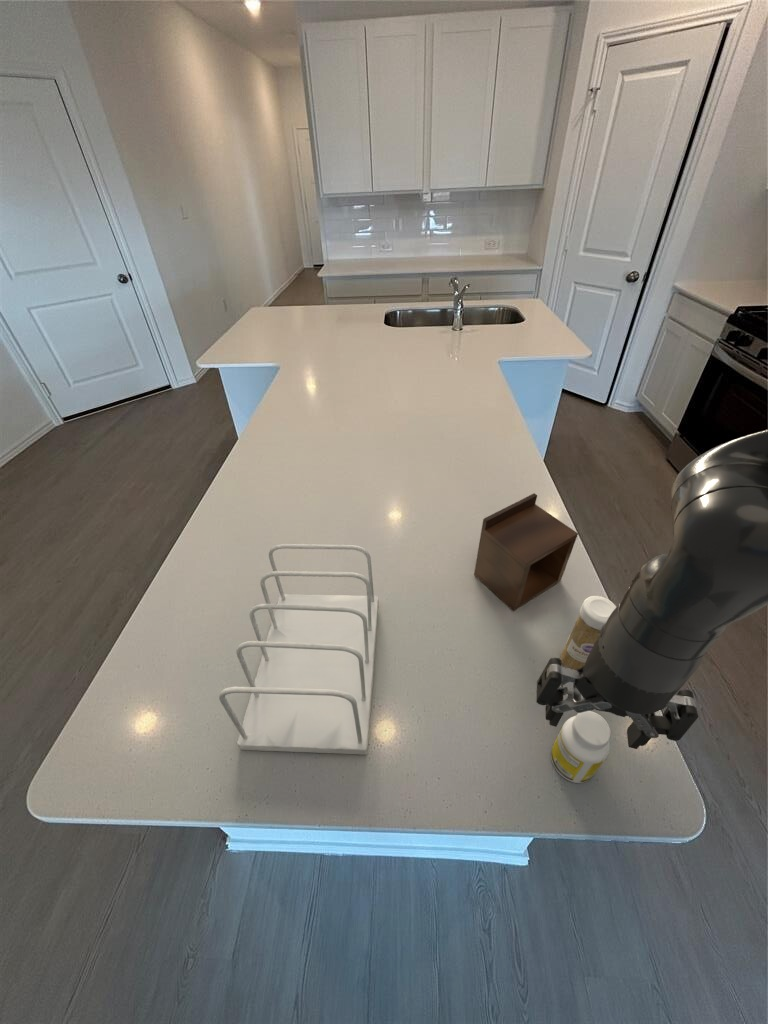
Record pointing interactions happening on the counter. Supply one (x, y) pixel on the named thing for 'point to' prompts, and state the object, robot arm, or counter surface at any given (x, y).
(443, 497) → the counter surface
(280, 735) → the file sorter
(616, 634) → the robot arm
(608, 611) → the sprinkles bottle
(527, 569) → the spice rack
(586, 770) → the supplement bottle
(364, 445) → the counter surface
